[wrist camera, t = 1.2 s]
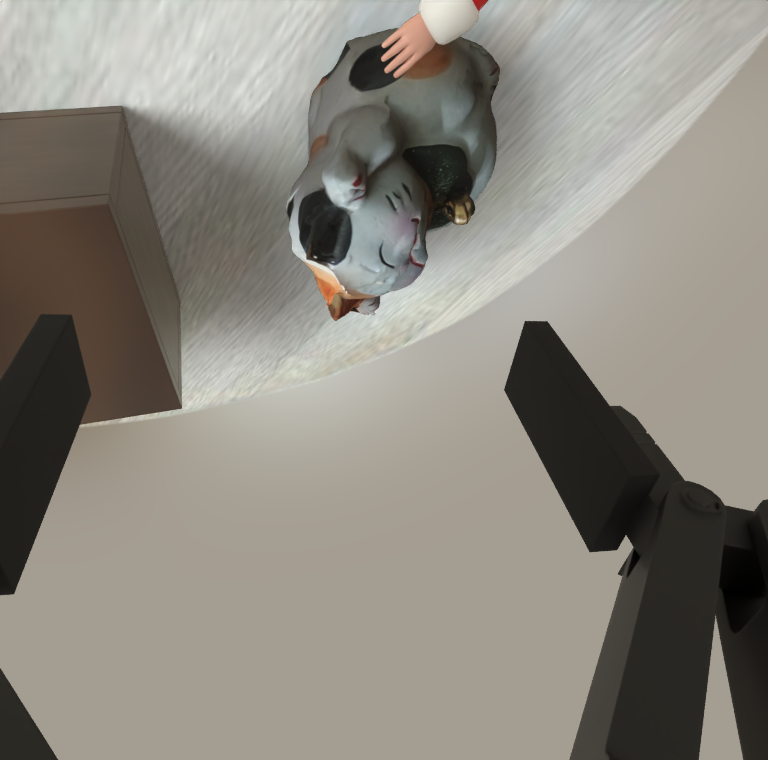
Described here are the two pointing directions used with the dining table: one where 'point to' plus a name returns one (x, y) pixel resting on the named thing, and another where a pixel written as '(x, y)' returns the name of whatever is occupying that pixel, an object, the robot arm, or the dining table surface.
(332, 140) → the lucky cat figurine
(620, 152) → the dining table surface
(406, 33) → the santa figurine
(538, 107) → the dining table surface
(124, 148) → the cabinet
